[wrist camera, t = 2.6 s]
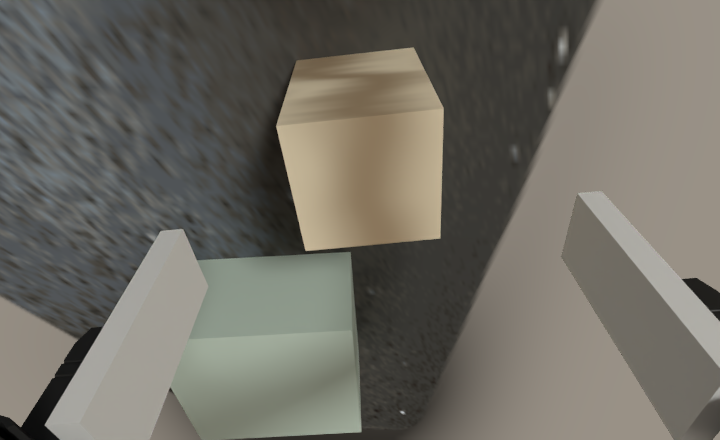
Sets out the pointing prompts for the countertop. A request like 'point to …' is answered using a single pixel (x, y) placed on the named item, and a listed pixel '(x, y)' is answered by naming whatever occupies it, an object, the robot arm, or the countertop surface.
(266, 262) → the sage block
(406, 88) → the maple block
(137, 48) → the countertop surface
